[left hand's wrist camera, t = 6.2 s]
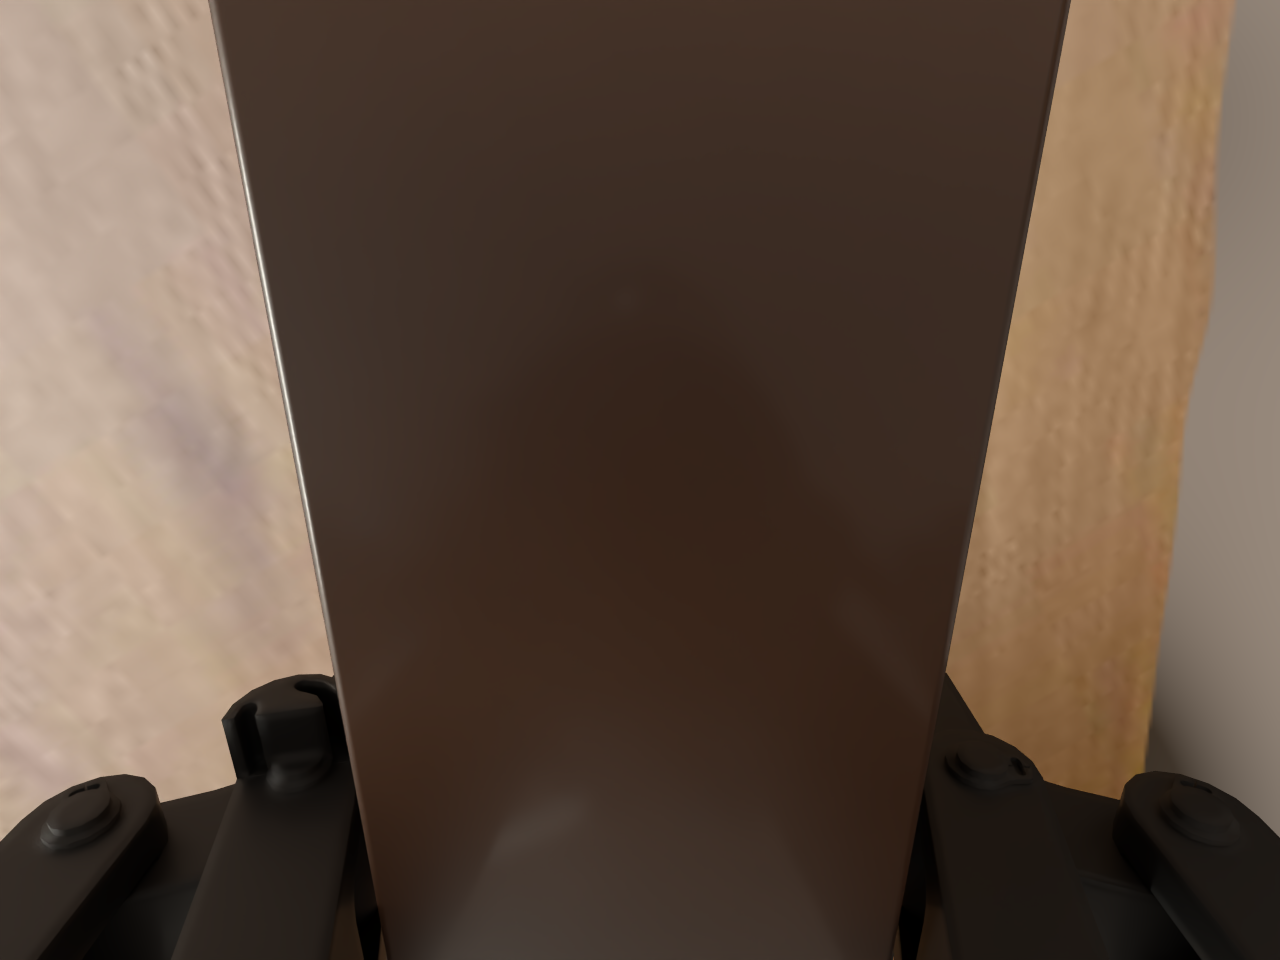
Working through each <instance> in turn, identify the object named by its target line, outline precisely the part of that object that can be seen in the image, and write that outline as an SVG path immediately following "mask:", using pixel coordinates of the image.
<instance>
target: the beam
mask: <svg viewBox="0 0 1280 960" xmlns="http://www.w3.org/2000/svg"><path fill="white" fill-rule="evenodd" d="M208 2H209V7H210V12H211V18H212V23H213V29H214V34H215V39H216V45H217V50H218V55H219V61H220V66H221V71H222V77H223V82H224V87H225V93H226V98H227V103H228V109H229V114H230V120H231V125H232V130H233V136H234V141H235V146H236V152H237V157H238V162H239V168H240V173H241V178H242V184H243V189H244V194H245V200H246V205H247V211H248V216H249V221H250V227H251V232H252V237H253V243H254V248H255V253H256V259H257V264H258V269H259V275H260V280H261V286H262V291H263V296H264V302H265V307H266V312H267V318H268V323H269V328H270V334H271V339H272V344H273V350H274V355H275V360H276V366H277V371H278V377H279V382H280V387H281V393H282V398H283V403H284V409H285V414H286V419H287V425H288V430H289V435H290V441H291V446H292V451H293V457H294V462H295V468H296V473H297V478H298V484H299V489H300V494H301V500H302V505H303V510H304V516H305V521H306V526H307V532H308V537H309V543H310V548H311V553H312V559H313V564H314V569H315V575H316V580H317V585H318V591H319V596H320V601H321V607H322V612H323V617H324V623H325V628H326V634H327V639H328V644H329V650H330V655H331V660H332V666H333V671H334V676H335V682H336V687H337V692H338V698H339V703H340V708H341V714H342V719H343V725H344V730H345V735H346V741H347V746H348V751H349V757H350V762H351V767H352V773H353V778H354V783H355V789H356V794H357V800H358V805H359V810H360V816H361V821H362V826H363V832H364V837H365V842H366V848H367V853H368V858H369V864H370V869H371V874H372V880H373V885H374V891H375V896H376V901H377V907H378V912H379V917H380V923H381V928H382V933H383V939H384V944H385V949H386V955H387V960H892V955H893V949H894V944H895V939H896V933H897V928H898V923H899V917H900V912H901V907H902V901H903V896H904V891H905V885H906V880H907V875H908V869H909V864H910V858H911V853H912V848H913V842H914V837H915V832H916V826H917V821H918V816H919V810H920V805H921V800H922V794H923V789H924V784H925V778H926V773H927V768H928V762H929V757H930V751H931V746H932V741H933V735H934V730H935V725H936V719H937V714H938V709H939V703H940V698H941V693H942V687H943V682H944V677H945V671H946V666H947V661H948V655H949V650H950V644H951V639H952V634H953V628H954V623H955V618H956V612H957V607H958V602H959V596H960V591H961V586H962V580H963V575H964V570H965V564H966V559H967V554H968V548H969V543H970V538H971V532H972V527H973V521H974V516H975V511H976V505H977V500H978V495H979V489H980V484H981V479H982V473H983V468H984V463H985V457H986V452H987V447H988V441H989V436H990V431H991V425H992V420H993V414H994V409H995V404H996V398H997V393H998V388H999V382H1000V377H1001V372H1002V366H1003V361H1004V356H1005V350H1006V345H1007V340H1008V334H1009V329H1010V324H1011V318H1012V313H1013V307H1014V302H1015V297H1016V291H1017V286H1018V281H1019V275H1020V270H1021V265H1022V259H1023V254H1024V249H1025V243H1026V238H1027V233H1028V227H1029V222H1030V217H1031V211H1032V206H1033V201H1034V195H1035V190H1036V184H1037V179H1038V174H1039V168H1040V163H1041V158H1042V152H1043V147H1044V142H1045V136H1046V131H1047V126H1048V120H1049V115H1050V110H1051V104H1052V99H1053V94H1054V88H1055V83H1056V77H1057V72H1058V67H1059V61H1060V56H1061V51H1062V45H1063V40H1064V35H1065V29H1066V24H1067V19H1068V13H1069V8H1070V3H1071V0H208Z"/></svg>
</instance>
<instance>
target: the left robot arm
mask: <svg viewBox="0 0 1280 960" xmlns="http://www.w3.org/2000/svg"><path fill="white" fill-rule="evenodd" d="M222 724H223V727H224V731H225V735H226V739H227V743H228V746H229V750H230V754H231V758H232V761H233V765H234V769H235V773H236V777H237V781H236V784H233V785H230V786H227V787H224V788H220V789H217V790H214V791H210V792H205V793H201V794H197V795H193V796H188V797H184V798H180V799H175V800H171V801H167V802H163V803H160V801H159V798H158V795H157V792H156V788H155V787H154V786H153V785H152V784H151V783H150V782H149V781H147V780H146V779H145V778H144V777H138V776H133V775H127V774H122V775H114V776H106V777H99V778H96V779H93V780H90V781H87V782H84V783H81V784H79V785H76V786H73V787H70V788H69V789H67V790H65V791H63V792H61V793H59V794H58V795H56V796H54V797H52V798H50V799H48V800H47V801H45V802H43V803H42V804H41V805H40V806H38V807H37V808H36V809H35V810H34V811H32V812H31V813H30V814H29V815H27V816H26V817H25V818H24V819H22V820H21V821H20V822H19V823H18V824H17V825H16V826H15V827H14V828H13V829H12V830H11V831H10V832H9V833H8V834H7V835H6V837H5V838H4V839H3V840H2V841H1V842H0V960H387V955H386V949H385V944H384V939H383V933H382V928H381V923H380V917H379V912H378V907H377V901H376V896H375V891H374V885H373V880H372V874H371V869H370V864H369V858H368V853H367V848H366V842H365V837H364V832H363V826H362V821H361V816H360V810H359V805H358V800H357V794H356V789H355V783H354V778H353V773H352V767H351V762H350V757H349V751H348V746H347V741H346V735H345V730H344V725H343V719H342V714H341V708H340V703H339V698H338V692H337V687H336V682H335V676H334V675H333V677H329V676H325V675H322V674H306V675H295V676H291V677H286V678H282V679H278V680H274V681H272V682H270V683H267V684H265V685H263V686H261V687H258V688H256V689H254V690H252V691H250V692H249V693H248V694H246V695H245V696H244V697H242V698H241V699H240V700H238V701H237V702H235V703H234V704H233V705H232V706H231V708H230V709H229V710H228V712H227V713H226V715H225V716H224V717H223V719H222ZM893 956H894V960H1280V838H1279V837H1278V836H1277V835H1276V833H1274V831H1273V830H1271V828H1270V827H1269V826H1268V825H1267V824H1266V823H1265V822H1264V821H1263V820H1262V819H1261V818H1260V817H1259V816H1257V815H1256V814H1255V813H1254V812H1252V811H1251V810H1250V809H1249V808H1247V807H1246V806H1245V805H1244V804H1242V803H1241V802H1240V801H1239V800H1237V799H1236V798H1234V797H1233V796H1231V795H1229V794H1227V793H1225V792H1223V791H1221V790H1220V789H1218V788H1216V787H1214V786H1212V785H1210V784H1208V783H1205V782H1202V781H1199V780H1196V779H1193V778H1191V777H1187V776H1184V775H1181V774H1175V773H1167V772H1159V771H1153V772H1147V773H1142V774H1136V775H1135V776H1134V777H1133V778H1132V779H1131V780H1129V781H1128V782H1127V783H1126V784H1125V786H1124V790H1123V793H1122V796H1121V799H1120V800H1117V799H1113V798H1109V797H1105V796H1100V795H1096V794H1092V793H1087V792H1083V791H1079V790H1074V789H1070V788H1066V787H1063V786H1059V785H1056V784H1053V783H1050V782H1046V781H1044V780H1043V777H1042V776H1041V774H1040V773H1039V771H1038V770H1037V768H1036V766H1035V765H1034V763H1033V762H1032V761H1031V760H1030V759H1029V758H1028V757H1026V756H1025V755H1024V754H1023V753H1022V752H1020V751H1019V750H1018V749H1017V748H1016V747H1014V746H1012V745H1010V744H1008V743H1006V742H1004V741H1002V740H1000V739H998V738H996V737H994V736H992V735H988V734H984V732H983V730H982V729H981V727H980V726H979V724H978V722H977V721H976V719H975V718H974V716H973V714H972V713H971V711H970V710H969V708H968V706H967V705H966V703H965V702H964V700H963V698H962V697H961V695H960V694H959V692H958V690H957V689H956V687H955V686H954V684H953V682H952V681H951V679H950V678H949V676H948V674H947V673H945V677H944V682H943V687H942V693H941V698H940V703H939V709H938V714H937V719H936V725H935V730H934V735H933V741H932V746H931V751H930V757H929V762H928V768H927V773H926V778H925V784H924V789H923V794H922V800H921V805H920V810H919V816H918V821H917V826H916V832H915V837H914V842H913V848H912V853H911V858H910V864H909V869H908V875H907V880H906V885H905V891H904V896H903V901H902V907H901V912H900V917H899V923H898V928H897V933H896V939H895V944H894V949H893V955H892V960H893Z"/></svg>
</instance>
